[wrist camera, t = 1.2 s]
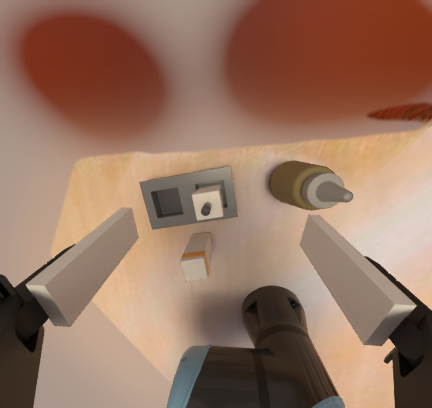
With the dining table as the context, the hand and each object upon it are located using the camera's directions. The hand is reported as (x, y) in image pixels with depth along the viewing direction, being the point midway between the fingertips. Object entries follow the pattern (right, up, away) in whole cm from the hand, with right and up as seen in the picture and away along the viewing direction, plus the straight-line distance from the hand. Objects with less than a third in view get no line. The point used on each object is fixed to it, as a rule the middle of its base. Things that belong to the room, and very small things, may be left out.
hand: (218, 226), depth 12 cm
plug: (-3, -7, +26) cm, 27 cm away
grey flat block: (-5, +3, +24) cm, 24 cm away
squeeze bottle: (+14, +7, +22) cm, 27 cm away
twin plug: (-1, +4, +22) cm, 23 cm away
